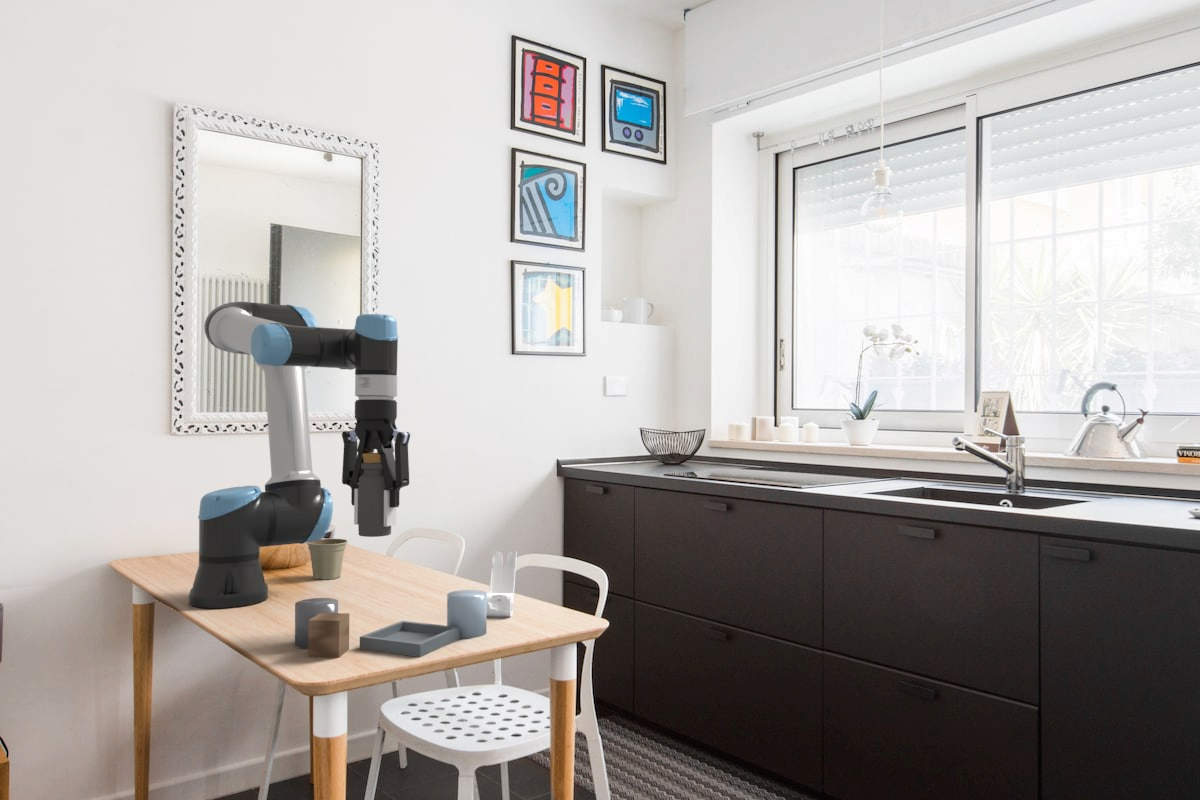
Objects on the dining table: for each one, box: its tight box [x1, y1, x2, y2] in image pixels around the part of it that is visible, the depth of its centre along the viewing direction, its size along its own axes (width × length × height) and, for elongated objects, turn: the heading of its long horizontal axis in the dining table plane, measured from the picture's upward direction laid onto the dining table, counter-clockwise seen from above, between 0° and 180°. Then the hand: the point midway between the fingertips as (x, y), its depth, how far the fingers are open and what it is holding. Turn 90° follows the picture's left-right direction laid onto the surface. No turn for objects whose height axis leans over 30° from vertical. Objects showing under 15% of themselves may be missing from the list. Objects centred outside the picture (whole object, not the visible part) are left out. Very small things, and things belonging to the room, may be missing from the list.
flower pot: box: [306, 538, 349, 581], centre depth 204 cm, size 9×9×9 cm
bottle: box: [358, 452, 392, 538], centre depth 158 cm, size 6×6×15 cm
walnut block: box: [307, 612, 350, 659], centre depth 141 cm, size 5×5×6 cm
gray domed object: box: [294, 597, 339, 650], centre depth 147 cm, size 7×7×7 cm
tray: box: [359, 620, 461, 658], centre depth 147 cm, size 12×12×2 cm
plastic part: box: [486, 549, 518, 618], centre depth 170 cm, size 8×10×12 cm
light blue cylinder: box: [446, 589, 488, 639], centre depth 154 cm, size 7×7×7 cm
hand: (375, 524), depth 158 cm, fingers closed on bottle, 6 cm apart
